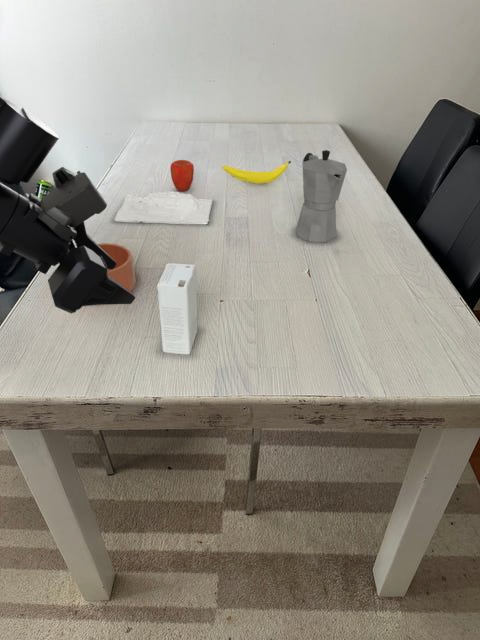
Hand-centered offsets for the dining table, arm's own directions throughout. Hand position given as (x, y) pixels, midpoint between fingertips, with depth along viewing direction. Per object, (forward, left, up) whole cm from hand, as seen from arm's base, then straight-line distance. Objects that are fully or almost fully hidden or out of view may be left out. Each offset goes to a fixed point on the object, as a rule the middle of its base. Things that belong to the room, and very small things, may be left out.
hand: (123, 282), depth 57 cm
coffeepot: (+46, +26, -13) cm, 55 cm away
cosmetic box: (+7, 0, -13) cm, 15 cm away
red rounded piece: (+27, +62, -13) cm, 69 cm away
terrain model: (+19, +50, -13) cm, 55 cm away
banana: (+47, +59, -13) cm, 77 cm away
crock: (-1, +21, -13) cm, 25 cm away
